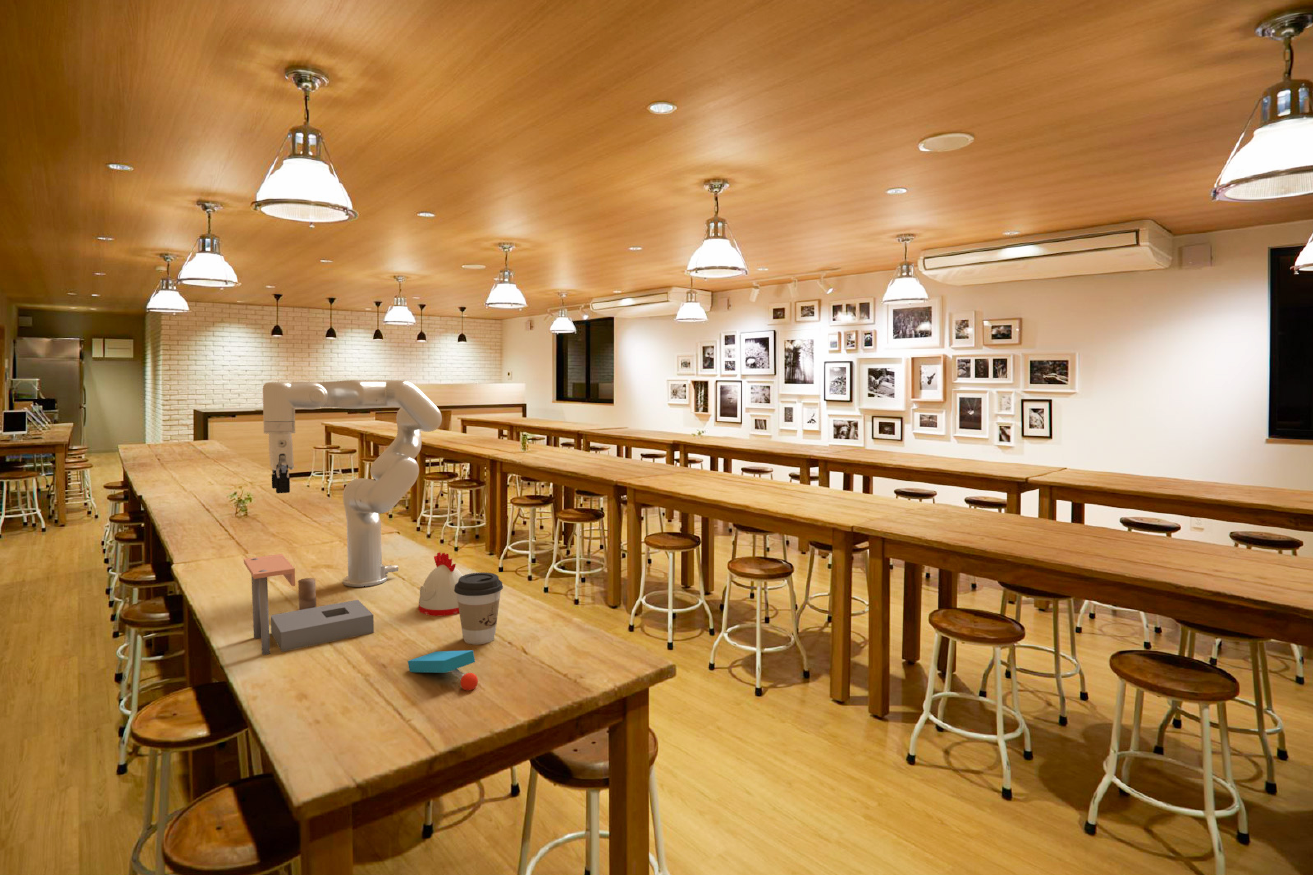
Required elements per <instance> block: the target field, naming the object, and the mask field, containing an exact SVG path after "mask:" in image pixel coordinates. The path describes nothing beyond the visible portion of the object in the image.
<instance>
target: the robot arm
mask: <svg viewBox="0 0 1313 875" xmlns="http://www.w3.org/2000/svg"><path fill="white" fill-rule="evenodd" d="M262 407H263V408H262V411H263V412H262V414H263V418H262V419H263V434H265V435H266V434H267V435H268V453H269V454H268V455H269V456H268V457H269V466H270V468H271V469H272V470H271V471H272V472H271V473H272V474H271V488H272V489H273V490H274V489H275V493H276V494H289V493H290V492H291V484H290V483H291V481H290V480H291V479H290V472H289V470H291V471H292V470H294V469H295V467H294V450H293V449H294V447H293V438H292V436H293V434H296V409H304V410H316V409H319V408H336V409H337V408H338V409H352V410H354V409H355V410H356V409H358V410H359V409H379V408H380V409H382V408H398V411H397V412H396V415H395V416H396V418H395V419H396V420H395V421H396V426H397V428H396V429H397V431H396V436H395V438H394V440H393V441H392V442H391V443H390V444H389V445H388V446H387V447H386V448H385V450H384V451H383V452H382V453H381V454H380V455H379V456H378V457H376V459H375V460H374V461H373V462H372V465H371V466H370V469H369V470H370V472H369V473H370V476H371V477H372V479H370V478H366V477H365V478H362V477H359V478H355V479H351V481H349V482H348V483H347V484H346V485H345V487H344V489H343V491H342V503H343V507H344V511H345V518H346V519H345V520H346V540H347V541H346V542H347V545H346V546H347V549H346V550H347V576H345V577H344V578H343V579H342V584H343V585H344V586H347V587H352V588H363V587H364V586H365V587H371V586H377V585H380V584H383V583H385V582H386V581H387V580H388V574H389V573H395V572H399V565H398V564H395V565H392V564H389V565H384V564H383V560H382V557H383V552H382V521H381V517H380V516H381V515H380V514H385V513H387V512H389V511H391V510H392V509H393V508H394V507H395V506H396V505H397V504H398V503H399V502H400V501H401V500H402V498H403V497H404V496H405V495H406V494H407V493H408V491H409V490H410V489H411V488H412V486H414V485H415V483H416V481H417V480H418V477H419V473H420V467H419V464H418V462H417V460H416V459H415V458H416V457H417V456H418V455H419V454H420V451H421V449H422V444H423V443H422V432H423V433H424V432H425V433H426V432H427V433H430V432H434V431H436V430H438V429H439V428H440V426H441V424H442V420H443V418H442V416H443V415H442V413H441V410H440V409H439V408H438V407H437V405H436V404H435V403H434V402H433V401H432V399H430V398H429V397H428V396H427V395H426V394H425V393H424V392H423V391H422V390H421V389H420V388H419V387H417V386H416V385H415V384H414V383H413V382H411V381H409V380H402V379H401V380H400V379H399V380H398V379H397V380H395V379H347V380H337V381H336V380H334V381H291V382H285V381H283V382H282V381H280V382H279V381H278V382H277V381H269V382H266V383H264V384H263V386H262Z"/></svg>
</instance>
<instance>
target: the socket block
mask: <svg viewBox="0 0 1313 875" xmlns="http://www.w3.org/2000/svg"><path fill="white" fill-rule="evenodd" d="M374 624H375V622H374V614H373V612H371V611H370V610H369V609H368V607H366V606H365V605H364V604H363V602H361V601H360V600H359V599H354V600H348V601H343V602H337V603H332V604H326V605H321V606H320V605H319V606H316V607H314V608H308V609H303V610H299V609H298V610H297V609H296V610H293V611H287V612H282V613H276V614H271V615H270V633H271V634H270V635H272V638H273V639H274V640H275V643H276V645H277V646H278V647H279V650H280V651H281V652H288V651H292V650H296V649H302V648H306V647H311V646H316V645H321V644H325V643H330V642H331V643H332V642H335V641H340V640H344V639H349V638H355V637H359V636H363V635H369V634H374V632H375V630H374V629H375V628H374Z"/></svg>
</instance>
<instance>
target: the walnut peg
mask: <svg viewBox="0 0 1313 875" xmlns="http://www.w3.org/2000/svg"><path fill="white" fill-rule="evenodd" d="M297 584H298V610H303V609H308V608H314V607H317V591H316V587H317V585H316V578H314V577H307V578H301V579H299V580H298V581H297Z"/></svg>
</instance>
